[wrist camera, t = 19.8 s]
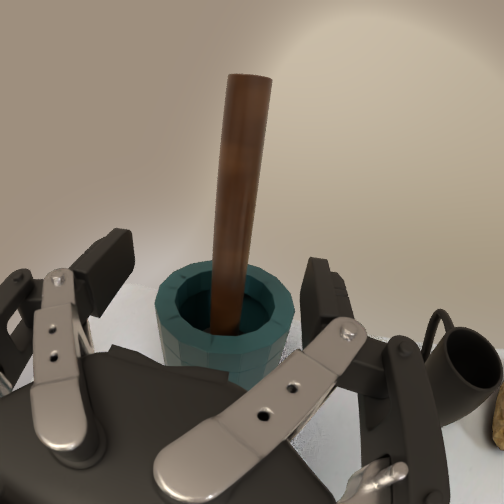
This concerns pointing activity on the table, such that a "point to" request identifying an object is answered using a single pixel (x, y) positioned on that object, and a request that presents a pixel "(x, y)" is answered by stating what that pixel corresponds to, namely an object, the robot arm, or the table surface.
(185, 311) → the jar
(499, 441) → the sponge
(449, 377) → the mug
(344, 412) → the table surface
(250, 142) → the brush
